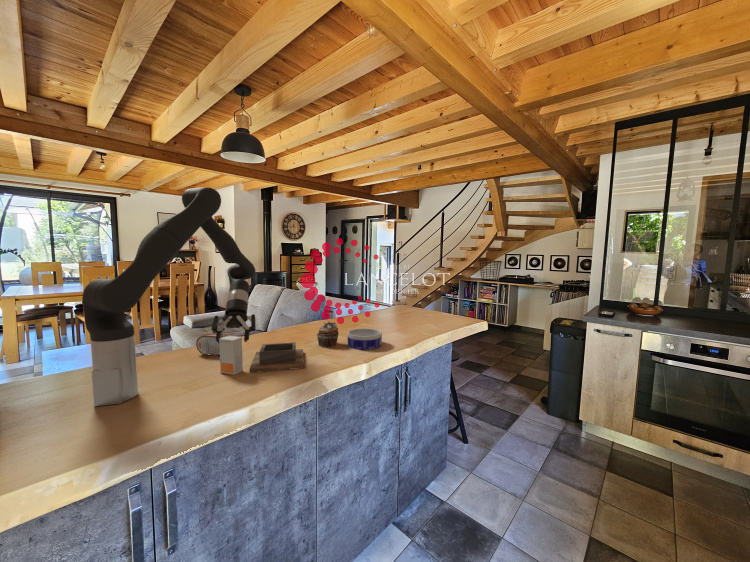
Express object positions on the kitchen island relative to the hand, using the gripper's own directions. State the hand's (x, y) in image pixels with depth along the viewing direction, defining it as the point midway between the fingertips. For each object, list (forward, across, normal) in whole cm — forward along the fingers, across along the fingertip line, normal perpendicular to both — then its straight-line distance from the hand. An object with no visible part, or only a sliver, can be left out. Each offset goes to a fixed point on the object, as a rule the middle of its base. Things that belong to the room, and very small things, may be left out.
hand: (232, 341), depth 107 cm
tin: (-6, -10, +20) cm, 23 cm away
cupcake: (-8, +35, +23) cm, 43 cm away
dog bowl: (-6, +51, +20) cm, 55 cm away
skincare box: (+9, 0, +5) cm, 10 cm away
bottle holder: (+4, +15, +10) cm, 18 cm away
